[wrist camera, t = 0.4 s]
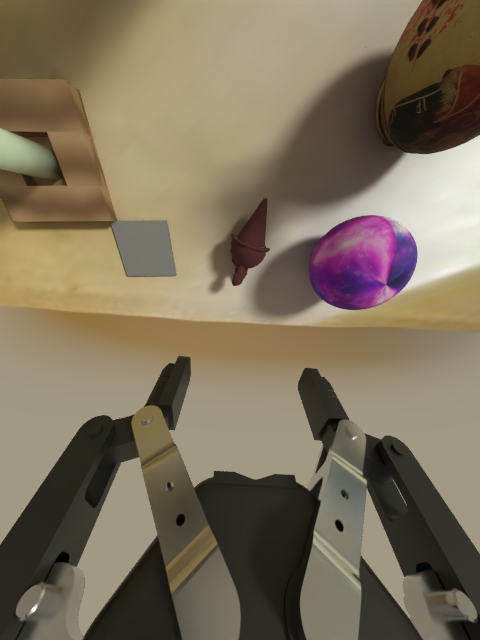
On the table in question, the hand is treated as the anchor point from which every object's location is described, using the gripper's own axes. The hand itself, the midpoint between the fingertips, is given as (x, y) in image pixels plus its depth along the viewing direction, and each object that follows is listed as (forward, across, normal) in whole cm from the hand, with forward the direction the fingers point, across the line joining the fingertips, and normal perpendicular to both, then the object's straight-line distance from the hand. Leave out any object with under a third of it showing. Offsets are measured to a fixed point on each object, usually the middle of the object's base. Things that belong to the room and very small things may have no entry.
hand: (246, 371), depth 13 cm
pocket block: (+28, +33, -12) cm, 45 cm away
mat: (+28, +19, -1) cm, 34 cm away
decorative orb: (+30, -19, -4) cm, 36 cm away
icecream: (+29, 0, -4) cm, 30 cm away
